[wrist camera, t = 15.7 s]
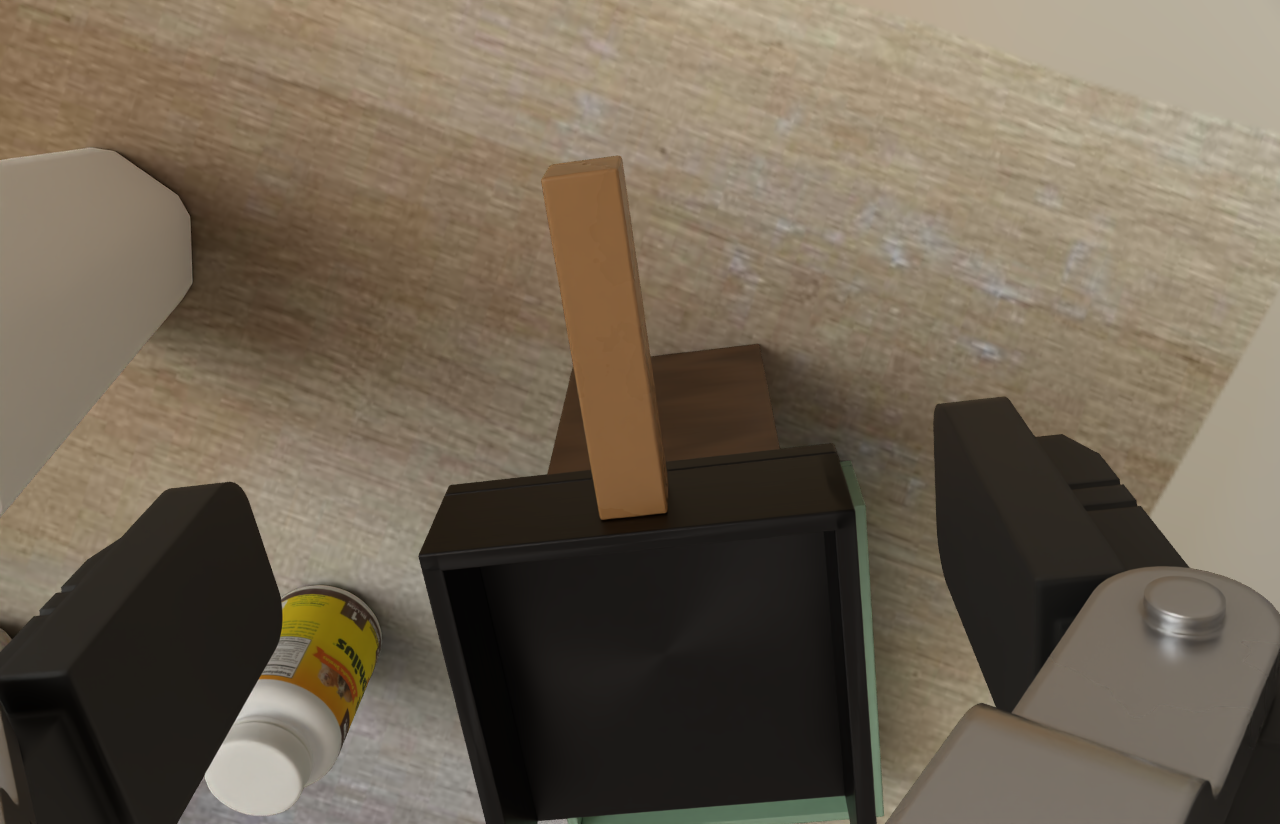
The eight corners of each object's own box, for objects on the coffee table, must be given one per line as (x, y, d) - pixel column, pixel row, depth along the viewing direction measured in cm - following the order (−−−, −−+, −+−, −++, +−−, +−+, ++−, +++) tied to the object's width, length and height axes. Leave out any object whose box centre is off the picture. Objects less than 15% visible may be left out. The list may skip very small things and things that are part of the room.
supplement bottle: (393, 672, 53) (332, 832, 43) (282, 674, 53) (198, 833, 43) (377, 577, 50) (309, 725, 41) (261, 579, 50) (167, 726, 41)
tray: (850, 459, 47) (865, 504, 43) (870, 756, 54) (884, 816, 50) (518, 496, 48) (505, 542, 45) (578, 781, 55) (571, 841, 51)
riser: (759, 343, 45) (806, 580, 28) (767, 428, 46) (817, 698, 30) (572, 365, 45) (514, 609, 29) (587, 448, 47) (539, 723, 31)
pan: (810, 119, 24) (830, 145, 20) (859, 780, 31) (880, 878, 28) (377, 178, 25) (330, 212, 21) (524, 808, 32) (506, 906, 29)
